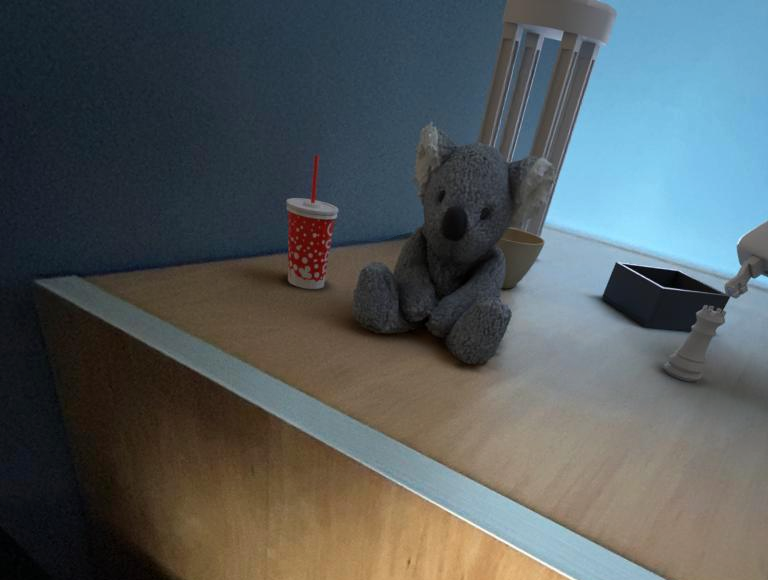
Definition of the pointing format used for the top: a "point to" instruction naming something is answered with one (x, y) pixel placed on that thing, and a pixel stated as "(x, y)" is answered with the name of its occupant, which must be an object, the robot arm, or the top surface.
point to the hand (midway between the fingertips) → (757, 306)
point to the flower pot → (518, 254)
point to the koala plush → (455, 247)
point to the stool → (574, 29)
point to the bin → (660, 296)
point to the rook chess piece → (695, 346)
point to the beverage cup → (309, 238)
